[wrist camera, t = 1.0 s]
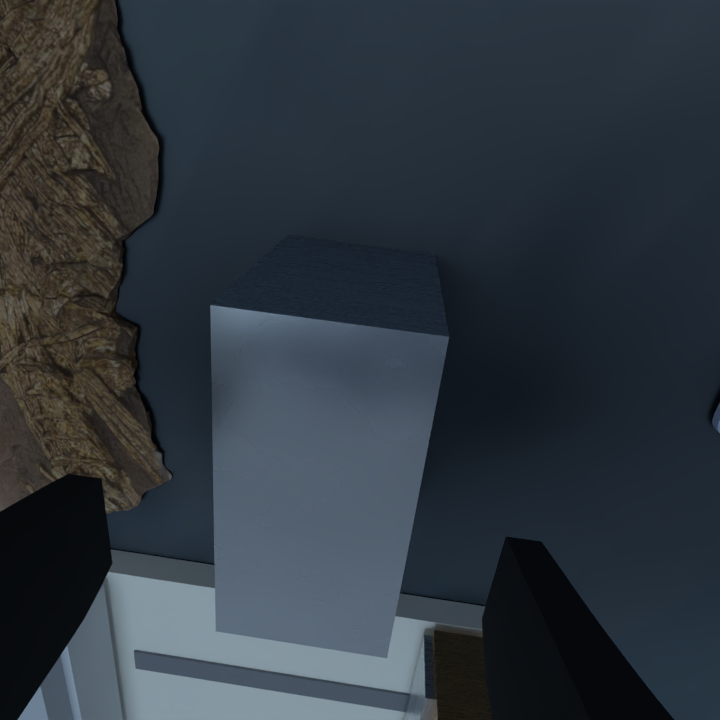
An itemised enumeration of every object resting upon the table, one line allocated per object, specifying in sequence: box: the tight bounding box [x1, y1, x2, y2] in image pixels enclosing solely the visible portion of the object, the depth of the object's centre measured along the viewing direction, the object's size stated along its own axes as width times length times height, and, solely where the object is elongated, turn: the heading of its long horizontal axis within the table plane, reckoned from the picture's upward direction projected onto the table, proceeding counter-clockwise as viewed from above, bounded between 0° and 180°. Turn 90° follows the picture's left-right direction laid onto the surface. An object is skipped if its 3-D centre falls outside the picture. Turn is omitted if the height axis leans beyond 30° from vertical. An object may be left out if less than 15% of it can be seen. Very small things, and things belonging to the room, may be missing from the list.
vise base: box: [18, 549, 485, 720], centre depth 19 cm, size 18×9×4 cm, turn 84°
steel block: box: [210, 235, 449, 658], centre depth 13 cm, size 4×8×6 cm, turn 174°
